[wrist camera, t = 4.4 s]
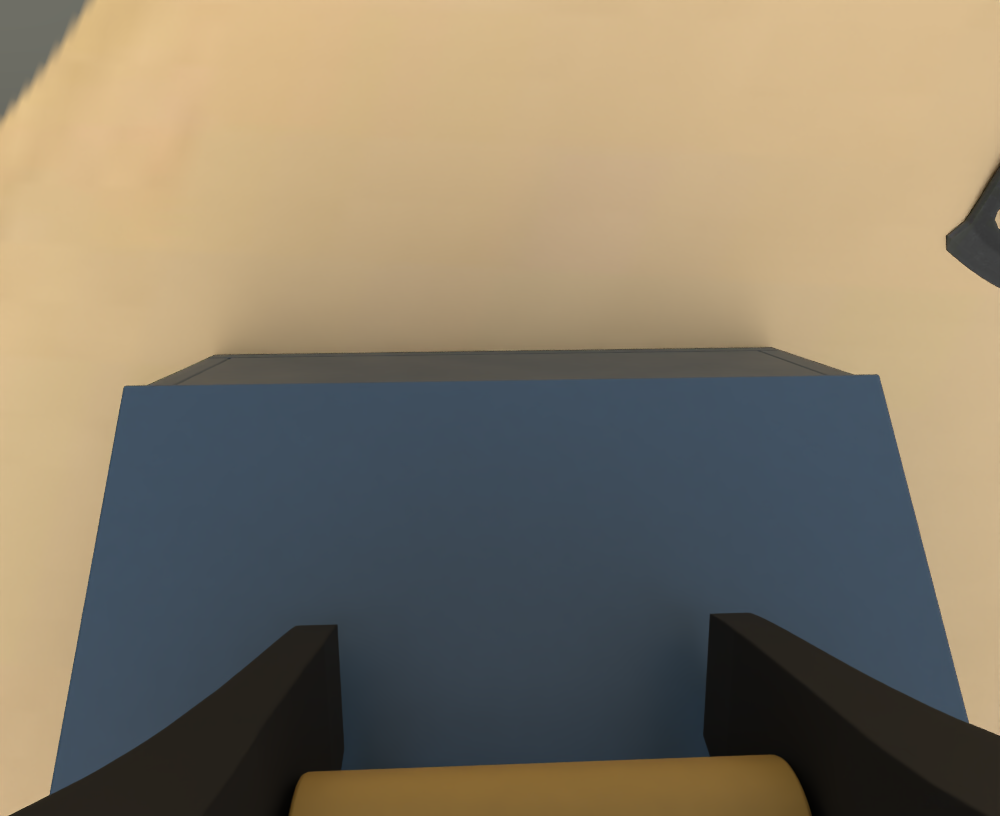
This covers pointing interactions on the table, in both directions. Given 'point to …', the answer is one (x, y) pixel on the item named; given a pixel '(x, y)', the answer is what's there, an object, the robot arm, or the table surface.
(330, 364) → the bin
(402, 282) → the table surface
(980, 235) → the tomahawk
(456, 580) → the lid
